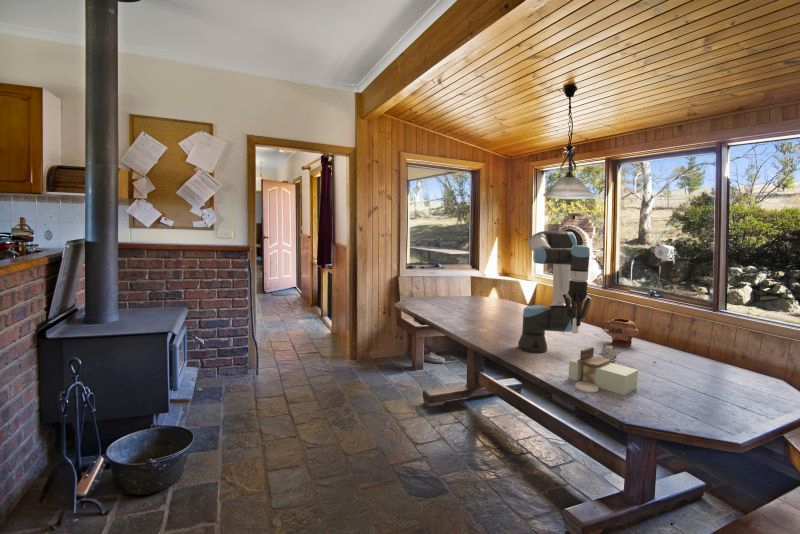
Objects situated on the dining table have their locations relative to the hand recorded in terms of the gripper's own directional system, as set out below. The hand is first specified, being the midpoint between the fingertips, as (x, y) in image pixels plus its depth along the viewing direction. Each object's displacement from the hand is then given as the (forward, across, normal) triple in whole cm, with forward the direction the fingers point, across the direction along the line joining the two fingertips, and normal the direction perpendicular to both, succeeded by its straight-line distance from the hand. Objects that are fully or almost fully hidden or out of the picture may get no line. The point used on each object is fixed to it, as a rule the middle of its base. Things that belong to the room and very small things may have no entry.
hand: (575, 332), depth 201 cm
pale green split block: (+19, +13, 0) cm, 23 cm away
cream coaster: (+20, +12, -11) cm, 25 cm away
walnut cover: (+11, +9, 0) cm, 14 cm away
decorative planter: (+19, -10, +69) cm, 73 cm away
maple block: (+20, +9, 0) cm, 22 cm away
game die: (+19, +1, +33) cm, 39 cm away
